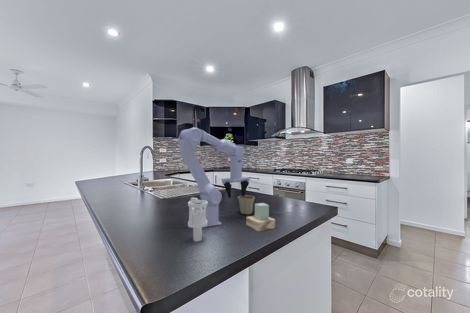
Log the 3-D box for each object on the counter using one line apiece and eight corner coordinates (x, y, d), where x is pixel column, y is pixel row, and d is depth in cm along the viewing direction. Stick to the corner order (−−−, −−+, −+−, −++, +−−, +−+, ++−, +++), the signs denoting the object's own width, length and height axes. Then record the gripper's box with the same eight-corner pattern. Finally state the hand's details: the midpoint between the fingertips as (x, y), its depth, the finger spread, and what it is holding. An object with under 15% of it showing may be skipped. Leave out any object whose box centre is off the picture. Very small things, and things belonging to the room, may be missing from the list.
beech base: (258, 232, 82) (258, 222, 82) (246, 225, 89) (246, 217, 89) (275, 228, 86) (275, 219, 86) (262, 222, 94) (262, 214, 94)
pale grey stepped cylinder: (198, 234, 78) (199, 196, 78) (211, 239, 74) (211, 198, 74) (183, 240, 73) (184, 198, 73) (196, 245, 68) (196, 201, 68)
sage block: (259, 220, 85) (259, 206, 85) (254, 217, 89) (254, 203, 89) (268, 219, 87) (268, 205, 87) (263, 216, 91) (263, 202, 91)
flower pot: (248, 216, 102) (248, 199, 101) (234, 213, 107) (234, 197, 107) (258, 212, 109) (258, 196, 109) (244, 209, 115) (244, 194, 115)
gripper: (225, 170, 93) (226, 199, 93) (252, 169, 99) (252, 196, 100) (220, 169, 99) (220, 196, 100) (245, 168, 106) (246, 194, 106)
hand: (236, 196), depth 100 cm, fingers open, 7 cm apart
